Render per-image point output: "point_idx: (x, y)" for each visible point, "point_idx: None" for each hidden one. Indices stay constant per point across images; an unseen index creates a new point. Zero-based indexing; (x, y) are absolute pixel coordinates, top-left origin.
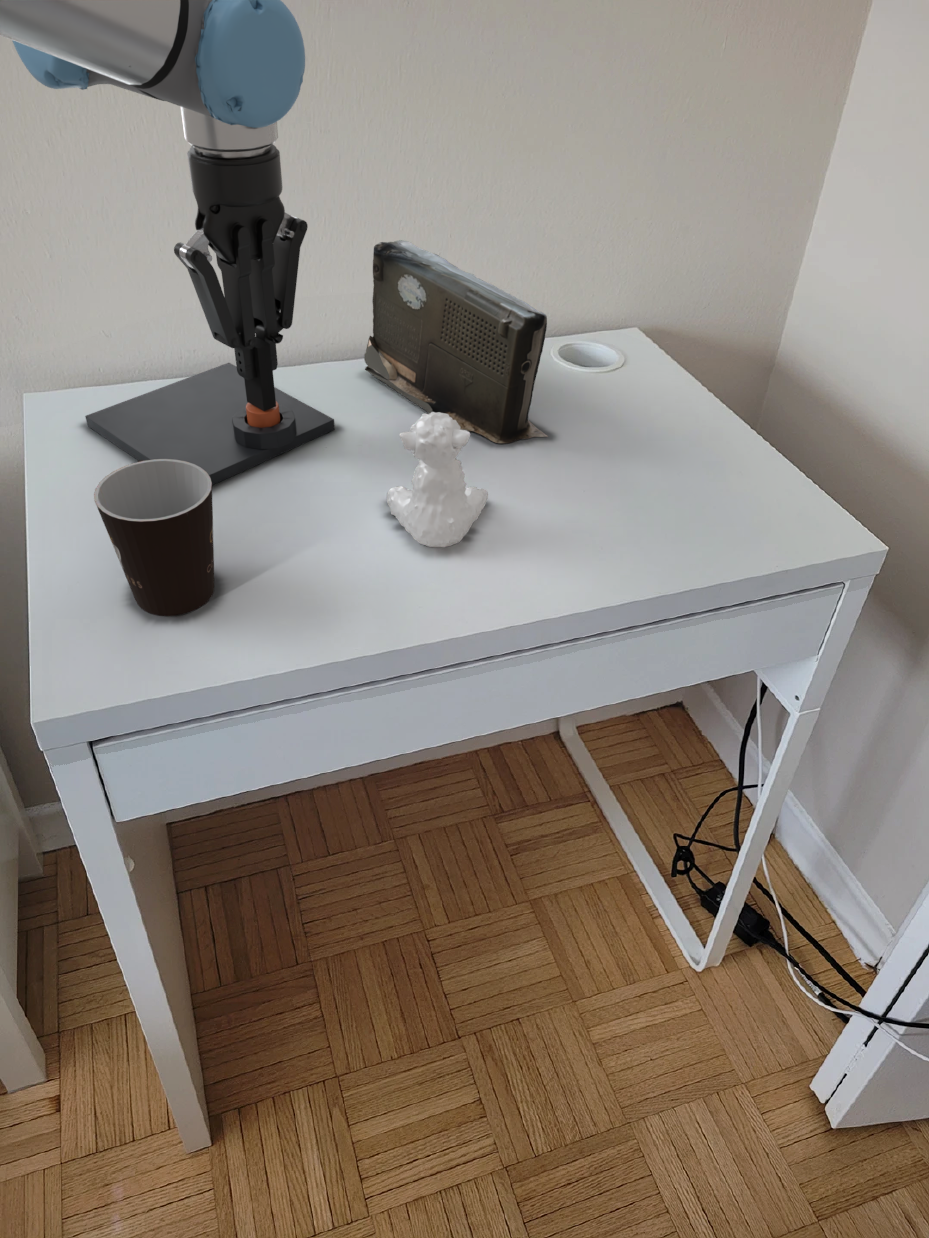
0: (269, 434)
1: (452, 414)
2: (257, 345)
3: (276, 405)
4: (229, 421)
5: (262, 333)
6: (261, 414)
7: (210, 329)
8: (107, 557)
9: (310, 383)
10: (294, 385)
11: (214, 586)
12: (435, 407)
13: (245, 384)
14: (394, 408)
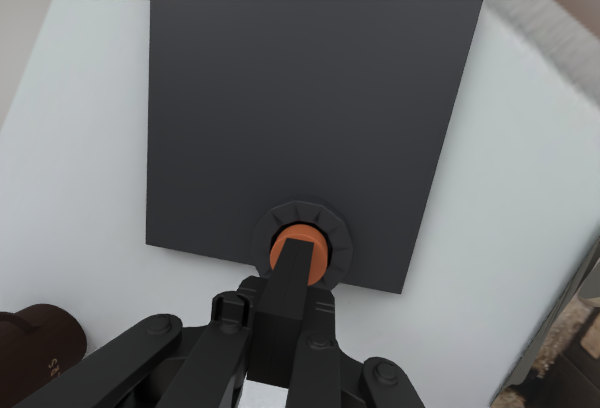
0: None
1: (522, 403)
2: (259, 371)
3: (314, 279)
4: (297, 170)
5: (289, 384)
6: None
7: (114, 340)
8: (30, 249)
9: (516, 159)
10: (493, 141)
11: (81, 359)
12: (525, 384)
13: (281, 252)
14: (505, 318)
